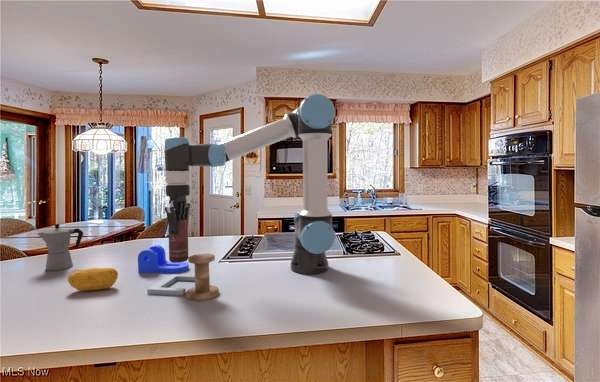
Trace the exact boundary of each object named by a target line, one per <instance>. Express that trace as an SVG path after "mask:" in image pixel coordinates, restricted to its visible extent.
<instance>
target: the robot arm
mask: <svg viewBox="0 0 600 382" xmlns="http://www.w3.org/2000/svg"><path fill="white" fill-rule="evenodd" d="M335 114H336V109H335V106H334V103H333V101H332V100H331V99H329V98H328V96H326V95H325V94H321V93H313V94H310V95H308V96H305V98H304V99H302V101H301V102H300V103H299V106H298V107H297V108H295V109H294V110H292V111H290V112H288V113H286V114H284V116H283V118H280V119H277V120H275V121H273V122H269V123H266V124H265V125H262V126H260V127H257V128H255V129H252V130H249V131H247V132H244V133H242V134H239V135H237V136H234V137H232V138H228V139H227V140H224V141H221V142H219V143H190V141H189V139H188V138H187V137H184V136H183V137H182V136H181V137H179V136H171V137H170V136H169V137H167V138H165V139H164V150H163V153H164V171H165V172H164V173H165V174H164V177H165V183H166V185H165V195H166V197H169V201H168V204H169V205H168V206H165V207H164V211H165V214H166V217H167V225H168V226H169V232H170V234H171V235H178V226H177V221H181V220H185V219H186V220H187V222H188V223H189V214H190V208H191V202H187V197H189V196H190V194H191V192H190V191H191V190H190V188H191V187H190V185H189V183H190V167H211V168H217V167H223V166H225V165H226V163H227V162H230V161H232V160H235V159H237V158H240V157H242V156H245V155H248V154H251V153H253V152H255V151H258V150H260V149H263V148H265V147H268V146H271V145H272V144H276V143H278V142H281V141H283V140H285V139H289V138H293V139H296V138H300V139H301V141H302V205H303V206H302V210H301V211H296V212H295V213H294V218H293V221H294V251H293V254H292V257H291V261H290V270H291V271H292V272H295V273H298V274H304V275H315V274H316V275H317V274H321V273H324V272H325V273H326V272H327V271H328V270H329V261H328V258H327V255H326V254H327V253H326V252H327V251H329V250H330V249H331V248H332V246H333V245H334V243H335V240H336V236H335V235H336V234H335V229H334V228H333V214H332V212H331V211H330V209H328V208H329V207H328V140H329V139H330V138H331V137H332V136H333V135H332V134H333V127H332V126H333V121H334V119H335V116H336V115H335Z"/></svg>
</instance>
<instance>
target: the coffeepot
mask: <svg viewBox="0 0 600 382" xmlns="http://www.w3.org/2000/svg"><path fill="white" fill-rule="evenodd" d="M54 227H55V228H53V229H49V230H44V231H41V232H38V233H37V234H36V235H38V236H39V237H41V239H42V240H43V241H44V242H45V245H46V249H47V251H48V253H47V256H46V264H45V269H46V271H48V272H49V271H50V272H52V271H54V272H55V271H61V270H62V271H63V270H67V269H69V268H72V267H73V266H74V263H73V259H72V257H71V253H70V250H69V247H70V244H71V243H70V242H71V235H72V234H77V239H76V241H75V245H72V246H71V247H72V249H78V248H79V247H80V244H81V241H82V239H83V236H84V232H83V230H81V229H80V228H62V227H60V223H55V224H54Z"/></svg>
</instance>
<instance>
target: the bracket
mask: <svg viewBox="0 0 600 382" xmlns="http://www.w3.org/2000/svg"><path fill="white" fill-rule="evenodd" d="M189 264H190V263H189V262H187V261H184V262H179V263H173V262H170V261H168V260H167V256H166V250H165V249H164V247H163V246H161V245H159V244H156V245H152V246H151V247H149V248H147V249H143V250H142V251H140V252H139V254H138V255H137V272H138V273H142V274H145V273H148V274H180V273H185V272H187V271H189V269H190V268H189Z"/></svg>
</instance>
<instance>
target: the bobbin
mask: <svg viewBox="0 0 600 382" xmlns="http://www.w3.org/2000/svg"><path fill="white" fill-rule="evenodd" d="M215 258H216V257H215V255H214V254H212V253H197V254H196V253H195V254H192V255H190V256H188V260H187V261H188V262H187V263H188V264H194V275H195V281H194V287H191V288H188V289H186V293H185V298H186V299H187V300H189V301H192V300H194V301H195V302H201V301H200V300H203V301H208V299H209V300H212V299H214V298H216V297H218V296H219V294H220V292H219V291H220V290H219V287H217V286H215V285H212V284H211V285H210V283H211V281H210V263H212V262H213V261H215ZM194 301H193V302H194Z"/></svg>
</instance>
